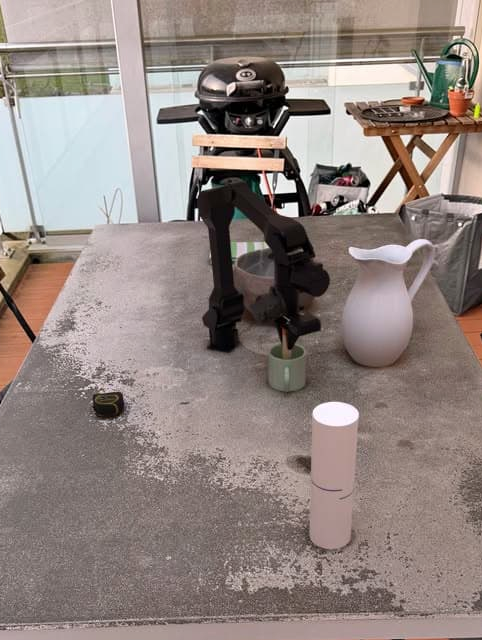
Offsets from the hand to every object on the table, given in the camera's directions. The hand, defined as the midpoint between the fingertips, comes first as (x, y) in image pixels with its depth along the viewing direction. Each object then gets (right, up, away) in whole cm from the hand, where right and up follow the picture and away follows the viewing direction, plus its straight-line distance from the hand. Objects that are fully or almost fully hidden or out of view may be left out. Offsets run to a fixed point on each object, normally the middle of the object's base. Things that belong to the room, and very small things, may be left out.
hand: (287, 347), depth 167 cm
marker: (0, -2, +1) cm, 2 cm away
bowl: (-1, +15, +38) cm, 41 cm away
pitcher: (+25, 0, +16) cm, 30 cm away
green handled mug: (0, -8, +4) cm, 9 cm away
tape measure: (-40, -15, -3) cm, 43 cm away
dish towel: (-10, +41, +76) cm, 87 cm away
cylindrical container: (+5, -38, -40) cm, 55 cm away
